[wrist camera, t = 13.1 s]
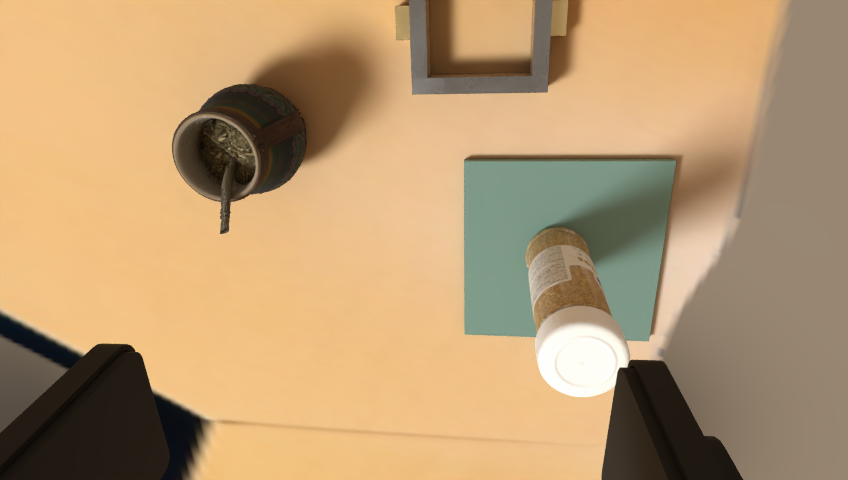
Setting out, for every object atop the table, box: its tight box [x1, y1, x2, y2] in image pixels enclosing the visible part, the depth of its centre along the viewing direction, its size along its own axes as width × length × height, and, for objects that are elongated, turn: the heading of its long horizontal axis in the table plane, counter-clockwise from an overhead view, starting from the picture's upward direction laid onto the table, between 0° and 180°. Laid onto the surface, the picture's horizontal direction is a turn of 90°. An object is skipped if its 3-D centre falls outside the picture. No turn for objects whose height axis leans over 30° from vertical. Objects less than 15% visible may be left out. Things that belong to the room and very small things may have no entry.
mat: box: [464, 159, 676, 341], centre depth 39 cm, size 14×14×1 cm
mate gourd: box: [172, 84, 307, 234], centre depth 34 cm, size 7×8×10 cm
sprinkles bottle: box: [525, 227, 630, 397], centre depth 33 cm, size 5×5×13 cm
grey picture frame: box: [395, 0, 568, 95], centre depth 33 cm, size 10×8×2 cm
